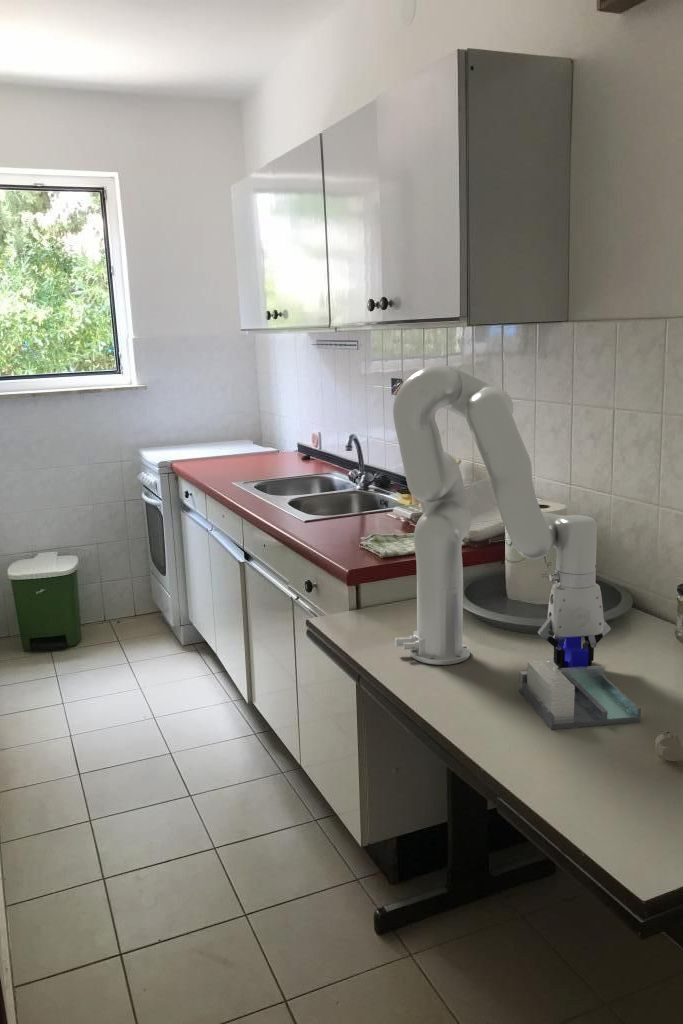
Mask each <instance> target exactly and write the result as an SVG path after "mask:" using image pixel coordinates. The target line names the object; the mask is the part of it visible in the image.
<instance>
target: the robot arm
mask: <svg viewBox="0 0 683 1024" xmlns="http://www.w3.org/2000/svg"><path fill="white" fill-rule="evenodd" d="M442 408H444V409H446V410H448V411H450V412H452V413H455V414H456V415H459V416H461V417H463V418H465V420H466V422H467V425H468V428H469V430H470V432H471V435H472V438H473V440H474V442H475V444H476V446H477V449H478V452H479V454H480V457H481V459H482V460H483V464H484V466H485V469H486V471H487V473H488V476H489V480H490V485H491V489H492V491H493V495H494V499H495V500H496V504H497V509H498V511H499V514H500V516H501V520H502V523H503V525H504V527H505V529H506V532H507V534H508V537H509V539H510V541H511V544H512V545H513V548H514V549H515V550H516V551H517V553H518V554H519V555H521V556H522V557H524V558H526V559H529V560H538V559H541V558H544V557H546V556H547V555H548V554H549V553H550V552H551V550H552V548H554V549H555V550H556V553H555V554H556V555H555V569H554V573H552V574H549V576H548V580H549V581H550V582H553V584H552V587H551V590H550V595H549V600H548V607H547V608H548V609H547V619H546V621H545V622H544V623H543V624H542V625H541V627H540V628H539V629H538V630H537V634H538V635H539V636H540V637H541V638H542V639H544V640H545V641H546V642H548V643H549V644H550V645H551V646H552V647H553V663H554V664H555V665H556V666H557V667H558V668H565V651H564V650H563V645H564V643H565V638H571V637H581V638H582V637H583V639H584V642H583V643H582V644H581V647H582V648H587V649H588V651H589V653H588V666H593V662H594V660H595V659H594V656H595V648H597V645H598V643H599V642H600V641H601V640H602V639H603V637H604V636H605V635H607V634H608V633H609V632H610V631H611V629H612V628H611V627H610V625H609V624H608V623H607V622H606V620H605V619H604V607H603V598H602V597H603V596H602V590H601V586H600V585H599V584H598V583H596V579H597V578H596V577H597V576H596V573H597V569H596V568H597V540H598V539H597V538H598V536H597V535H598V524H597V521H596V519H594V518H593V517H591V516H587V515H583V514H570V515H569V514H568V515H562V514H555V513H550V512H544V511H542V510H541V507H540V504H539V502H538V499H537V495H536V492H535V488H534V481H533V468H532V463H531V458H530V455H529V453H528V451H527V448H526V446H525V443H524V441H523V438H522V436H521V434H520V431H519V428H518V426H517V424H516V422H515V419H514V417H513V416H514V415H513V414H514V403H513V400H512V398H511V396H510V395H509V394H508V393H507V392H506V391H505V390H503V389H501V388H499V387H497V386H495V385H494V384H491V383H489V382H486V381H483V380H481V379H479V378H478V377H475V376H473V375H471V374H469V373H467V372H464V371H463V370H460V369H458V368H456V367H453V366H451V365H447V364H446V365H445V364H439V365H432V366H431V365H430V366H426V367H424V368H421V369H419V370H417V371H416V372H414V373H413V374H411V376H409V377H408V378H407V379H406V380H405V381H404V382H403V383H402V385H401V386H400V387H399V390H397V392H396V394H395V397H394V401H393V408H392V415H393V416H392V417H393V424H394V428H395V429H394V430H395V432H396V436H397V442H398V446H399V451H400V452H399V453H400V456H401V461H402V462H401V463H402V465H403V471H404V474H405V479H406V484H407V488H408V490H409V492H410V494H411V495H412V497H413V498H415V499H416V500H418V501H419V502H422V503H423V507H424V511H425V512H424V513H422V514H421V516H420V517H419V518H418V520H417V522H416V525H415V527H414V530H413V531H414V533H413V542H414V543H413V544H414V552H415V561H416V630H413V634H412V635H410V634H409V636H408V637H404V636H399V637H395V638H394V645H395V647H396V648H397V647H398V648H399V647H402V649H403V650H409V655H410V656H411V657H412V659H414V660H416V661H418V662H420V663H423V664H427V665H437V666H442V665H443V666H444V665H447V666H448V665H454V664H458V663H459V664H460V663H462V662H465V661H466V660H468V658H470V655H471V648H470V647H469V646H468V645H467V644H465V643H464V641H463V639H464V638H463V635H464V634H463V629H464V628H463V627H464V626H463V625H464V623H463V621H464V619H463V618H464V616H463V615H464V613H463V611H464V605H463V604H464V570H463V569H464V567H463V566H464V565H463V556H462V555H463V552H462V551H463V550H462V547H463V546H462V544H463V543H462V542H463V540H464V539H465V537H466V536H467V535H468V533H469V531H470V528H471V523H472V522H471V521H472V519H471V511H470V508H469V502H468V499H467V498H468V497H467V493H466V489H465V484H464V480H463V479H464V478H463V475H462V471H461V468H460V466H459V464H458V462H457V461H456V459H455V458H454V457H453V455H452V454H450V453H448V452H446V451H444V448H443V444H442V439H441V434H440V429H439V427H438V424H437V421H436V413H437V411H438V410H440V409H442ZM550 631H551V632H552V633H553V636H552V635H550V634H549V632H550Z"/></svg>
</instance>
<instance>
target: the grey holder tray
mask: <svg viewBox="0 0 683 1024" xmlns="http://www.w3.org/2000/svg"><path fill="white" fill-rule="evenodd" d="M526 669H527V670H520V671H519V675H518V676H519V680H518V681H519V682H518V692H519V693H520V694H521V696H522V697H523V696H524V697H523V698H524V699H525V700H526V702H527V703H528V704H529V705H530V707H531V708H533V710H534V711H535V713H537V715H538V716H539V717H540V718H541V719H542V721H543V722H544V723H545V725H546V726H547V727H548V728H549V729H550V731H551V730H553V731H554V730H565V729H575V728H578V729H579V728H586V727H597V726H600V727H601V726H609V725H610V726H611V725H612V726H613V725H620V724H623V725H624V724H632V723H633V724H634V723H635V724H637V723H640V722H641V715H642V714H641V711H642V710H641V707H640V706H639V705H637V704H636V703H635V702H634V701H633V700H632V699H630V698H629V697H628V695H626V694H625V693H624V692H623V691H622V690H620V689H619V688H618V687H617V686H616V685H615V684H614V683H613V682H611V680H610V679H608V677H606V676H605V667H604V666H602V665H592V666H584V667H571V668H559V667H558V668H557V667H556V666H555V665H554V664H553V663H552V662H551V661H550V660H549V659H545V660H531V661H530V660H529V661H527V667H526Z"/></svg>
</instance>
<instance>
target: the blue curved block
mask: <svg viewBox="0 0 683 1024" xmlns="http://www.w3.org/2000/svg"><path fill="white" fill-rule="evenodd" d="M563 650H564V651H565V668H571V667H584V666H588V653H589V651H588V649H587V648H582V637H571V638H565V641H564V645H563Z"/></svg>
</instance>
